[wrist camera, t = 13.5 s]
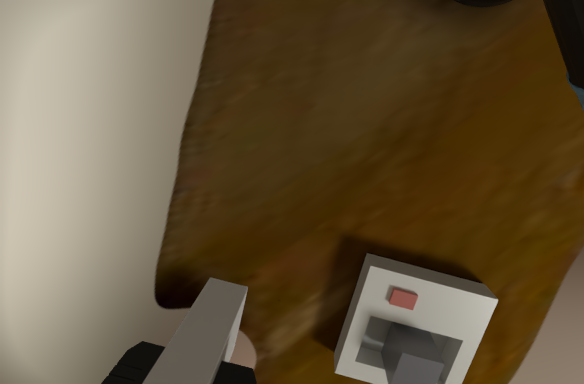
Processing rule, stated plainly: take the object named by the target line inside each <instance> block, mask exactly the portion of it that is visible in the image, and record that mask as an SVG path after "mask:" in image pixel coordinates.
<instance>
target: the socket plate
mask: <svg viewBox="0 0 584 384" xmlns="http://www.w3.org/2000/svg"><path fill="white" fill-rule="evenodd" d="M497 302H498V299H497V298H496V297H495V296H494V294H493V293H492V292H491V291H490V290H489V289H488V288H487V287H486V285H485V284H481V283H478V282H474V281H470V280H466V279H463V278H459V277H455V276H451V275H448V274H444V273H440V272H436V271H433V270H429V269H425V268H421V267H418V266H414V265H410V264H406V263H403V262H399V261H395V260H392V259H388V258H384V257H380V256H377V255H373V254H369V253H367V254H366V257H365V260H364V263H363V266H362V269H361V273H360V276H359V279H358V282H357V285H356V288H355V291H354V294H353V297H352V300H351V303H350V306H349V309H348V312H347V315H346V318H345V321H344V324H343V328H342V331H341V334H340V337H339V340H338V343H337V346H336V349H335V352H334V364H335V373H337V374H340V375H344V376H348V377H351V378H355V379H359V380H362V381H366V382H370V383H373V384H388V381H387V377H386V372H385V368H384V364H383V360H382V355H381V351H382V348H383V345H384V342H385V340H386V337H387V334H388V331H389V329H390V326H391V323H392V321H393V322H396V323H400V324H404V325H407V326H411V327H415V328H419V329H422V330H426V331H429V332H430V334H431V336H432V338H433V340H434V342H435V344H436V347H437V349H438V351H439V353H440V355H441V357H442V359H443V362H444V364H445V365H444V367H443V370H442V372H441V374H440V377H439V379H438V382H437V384H462V382H463V380H464V377H465V375H466V373H467V371H468V368H469V366H470V364H471V361H472V359H473V357H474V355H475V352H476V350H477V348H478V345H479V343H480V341H481V339H482V336H483V334H484V332H485V329H486V327H487V325H488V323H489V320H490V318H491V316H492V313H493V311H494V309H495V307H496V304H497Z"/></svg>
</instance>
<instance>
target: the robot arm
mask: <svg viewBox="0 0 584 384" xmlns="http://www.w3.org/2000/svg"><path fill="white" fill-rule="evenodd" d="M455 1H457V2H459V3H462V4H465V5H469V6H475V7H490V6H496V5H501V4H504V3H507V2H510V1H512V0H455ZM543 1H544V4H545V7H546V10H547V13H548V16H549V19H550V22H551V25H552V28H553V31H554V33H555V36H556V39H557V42H558V45H559V48H560V51H561V54H562V57H563V60H564V62H565V65H566V68H567V80H568V83H569V84H570V85H571V88H572V89H573V90H574V91H575V92H576V94H577V97H578V99H579V101H580V104H581V106H582V109H583V111H584V0H543ZM247 290H248V287H245V286H241V285H238V284H234V283H230V282H226V281H222V280H218V279H214V278H210V279H209V280H208V282H207V284H206V285H205V287H204V288H203V290H202V291H201V293H200V294H199V296H198V298H197V299H196V301H195V302H194V304H193V305H192V307H191V309H190V310H189V312H188V313H187V315H186V316H185V318H184V319H183V321H182V323H181V324H180V326H179V327H178V329H177V331H176V332H175V333H174V335H173V337H172V338H171V340H170V341H169V343H168V344H167V346H166V347H163V346H159V345H155V344H152V343H148V342H144V341H142V342H140V343H139V344H137V345H135V346H134V347H132V348H130V349H129V350H127V352H126V353H125V354H124V355H123V357H122V358H121V359H120V360H119V362H118V363H117V365H115V367H114V368H113V369H112V371H111V372H110V373H109V376H107V377H106V378H105V379H104V381H103V382H102V383H101V384H256V383H257V382H256V379H255V375H254V371H253V369H252V368H249V367H245V366H241V365H237V364H233V363H229V361H230V358H231V355H232V353H233V350H234V347H235V343H236V338H237V334H238V330H239V325H240V321H241V316H242V312H243V307H244V303H245V299H246V294H247Z"/></svg>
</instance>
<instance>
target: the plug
mask: <svg viewBox="0 0 584 384" xmlns="http://www.w3.org/2000/svg"><path fill="white" fill-rule="evenodd" d="M381 355H382V360H383V364H384V368H385V372H386V377H387V381H388V384H437V382H438V379H439V377H440V374H441V372H442V370H443V367H444V365H445V364H444V362H443V359H442V357H441V355H440V353H439V351H438V349H437V347H436V344H435V342H434V340H433V338H432V336H431V334H430V332H429V331H426V330H422V329H419V328H415V327H411V326H407V325H404V324H400V323H396V322H393V321H392V323H391V326H390V329H389V331H388V334H387V337H386V340H385V342H384V345H383V348H382V351H381Z"/></svg>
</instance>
